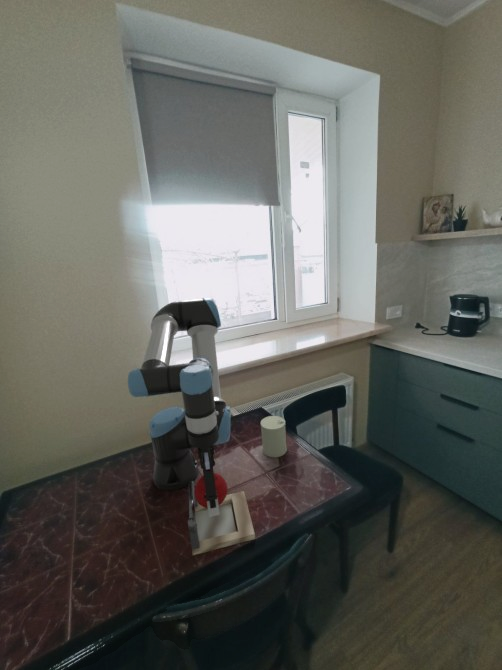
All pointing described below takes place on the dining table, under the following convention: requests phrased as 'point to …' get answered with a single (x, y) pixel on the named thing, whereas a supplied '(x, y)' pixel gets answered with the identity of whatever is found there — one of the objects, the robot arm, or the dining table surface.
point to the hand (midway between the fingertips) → (212, 500)
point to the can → (273, 436)
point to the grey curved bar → (193, 517)
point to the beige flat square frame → (224, 524)
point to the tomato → (200, 490)
